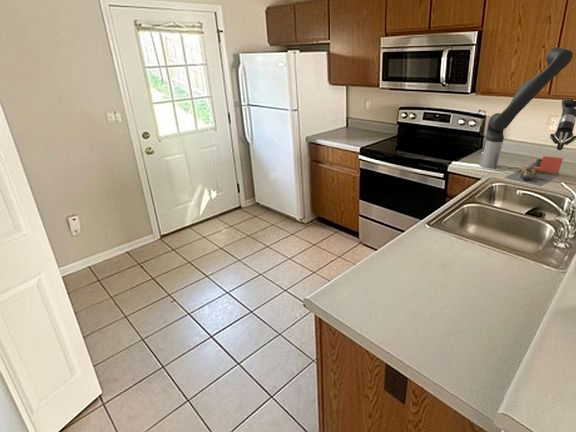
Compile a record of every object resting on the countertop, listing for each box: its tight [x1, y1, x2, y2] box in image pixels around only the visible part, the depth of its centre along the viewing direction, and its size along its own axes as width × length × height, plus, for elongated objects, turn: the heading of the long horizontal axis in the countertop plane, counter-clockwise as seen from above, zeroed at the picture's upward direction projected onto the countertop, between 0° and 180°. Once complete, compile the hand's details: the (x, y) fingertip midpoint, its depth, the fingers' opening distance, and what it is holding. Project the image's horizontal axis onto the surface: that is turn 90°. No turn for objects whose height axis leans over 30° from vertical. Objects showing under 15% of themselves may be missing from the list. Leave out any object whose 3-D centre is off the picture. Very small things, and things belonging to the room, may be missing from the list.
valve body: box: [520, 167, 536, 181], centre depth 210 cm, size 6×16×5 cm, turn 149°
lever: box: [524, 155, 564, 173], centre depth 204 cm, size 16×4×8 cm, turn 58°
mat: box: [503, 170, 555, 187], centre depth 210 cm, size 19×21×1 cm
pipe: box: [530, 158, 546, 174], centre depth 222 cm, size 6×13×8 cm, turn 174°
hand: (559, 149), depth 208 cm, fingers closed
